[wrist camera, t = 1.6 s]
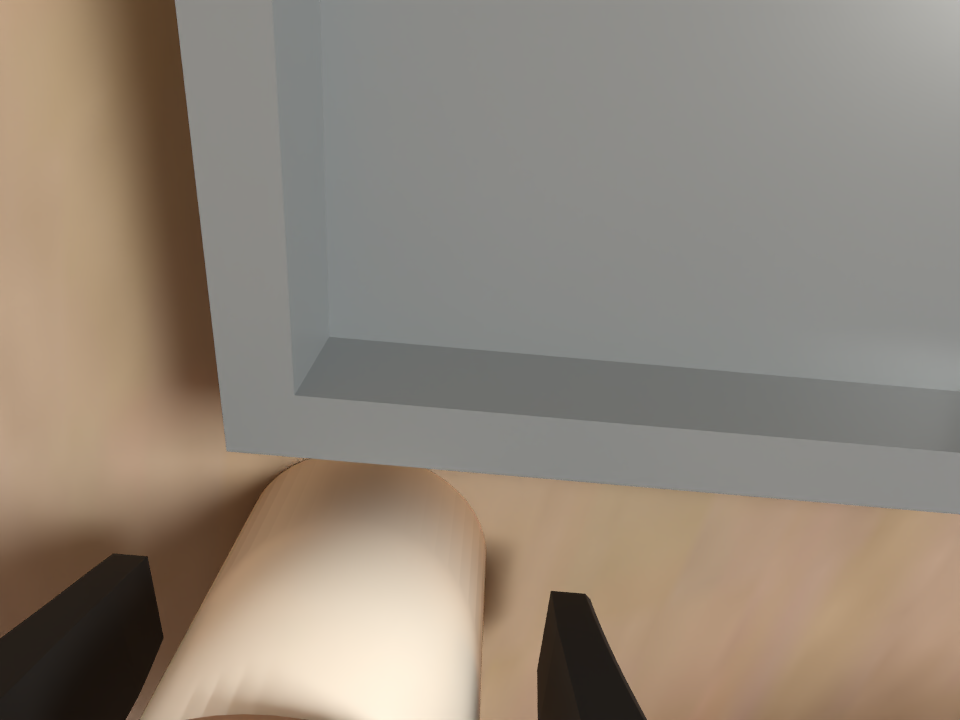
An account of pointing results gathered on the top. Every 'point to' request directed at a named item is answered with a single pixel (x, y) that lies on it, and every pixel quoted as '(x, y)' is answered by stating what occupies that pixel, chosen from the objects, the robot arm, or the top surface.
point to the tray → (588, 238)
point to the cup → (339, 605)
